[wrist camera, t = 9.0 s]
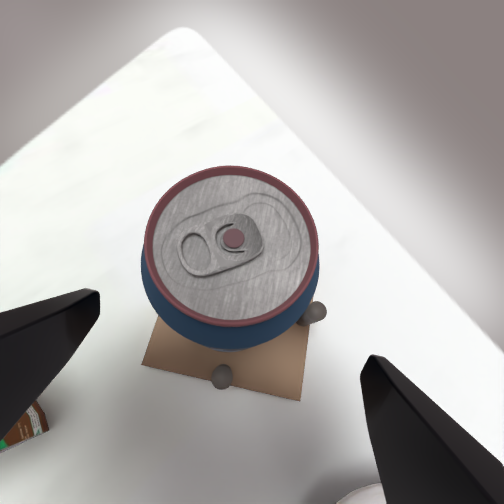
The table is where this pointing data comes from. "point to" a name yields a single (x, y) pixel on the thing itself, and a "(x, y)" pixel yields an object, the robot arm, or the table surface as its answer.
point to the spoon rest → (365, 495)
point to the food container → (25, 428)
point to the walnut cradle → (239, 358)
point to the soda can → (230, 258)
